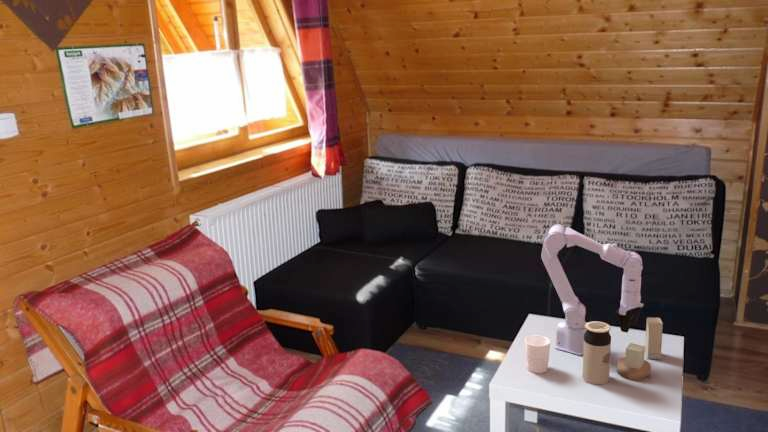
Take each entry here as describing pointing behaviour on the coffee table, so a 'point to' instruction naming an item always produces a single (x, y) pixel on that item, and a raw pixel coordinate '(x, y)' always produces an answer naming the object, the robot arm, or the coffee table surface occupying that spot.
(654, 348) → the box
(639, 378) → the coaster stand
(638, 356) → the block
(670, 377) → the coffee table surface
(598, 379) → the travel mug
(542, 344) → the white cup
